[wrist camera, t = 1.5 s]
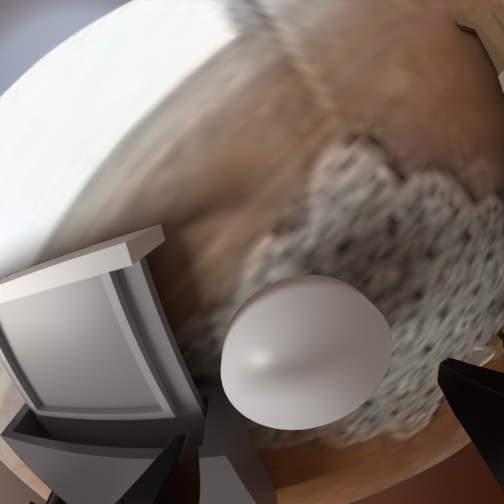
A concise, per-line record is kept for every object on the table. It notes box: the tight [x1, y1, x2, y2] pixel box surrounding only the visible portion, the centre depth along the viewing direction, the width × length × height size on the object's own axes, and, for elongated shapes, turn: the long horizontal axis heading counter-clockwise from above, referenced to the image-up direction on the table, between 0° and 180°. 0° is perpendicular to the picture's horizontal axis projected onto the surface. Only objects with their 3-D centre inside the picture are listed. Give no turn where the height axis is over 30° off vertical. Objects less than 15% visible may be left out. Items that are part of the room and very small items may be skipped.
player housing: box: [1, 384, 278, 504], centre depth 15 cm, size 15×18×6 cm
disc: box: [221, 275, 392, 430], centre depth 11 cm, size 7×7×2 cm
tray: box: [0, 224, 207, 448], centre depth 13 cm, size 15×17×4 cm
